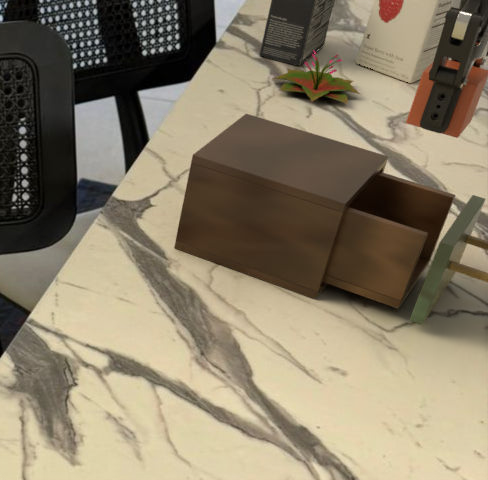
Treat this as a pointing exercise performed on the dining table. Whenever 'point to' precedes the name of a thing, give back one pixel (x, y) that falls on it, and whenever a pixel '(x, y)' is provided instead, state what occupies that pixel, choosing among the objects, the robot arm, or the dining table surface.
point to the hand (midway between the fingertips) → (440, 119)
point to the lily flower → (317, 82)
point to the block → (464, 104)
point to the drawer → (402, 243)
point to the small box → (295, 29)
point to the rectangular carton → (403, 37)
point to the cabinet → (272, 201)
